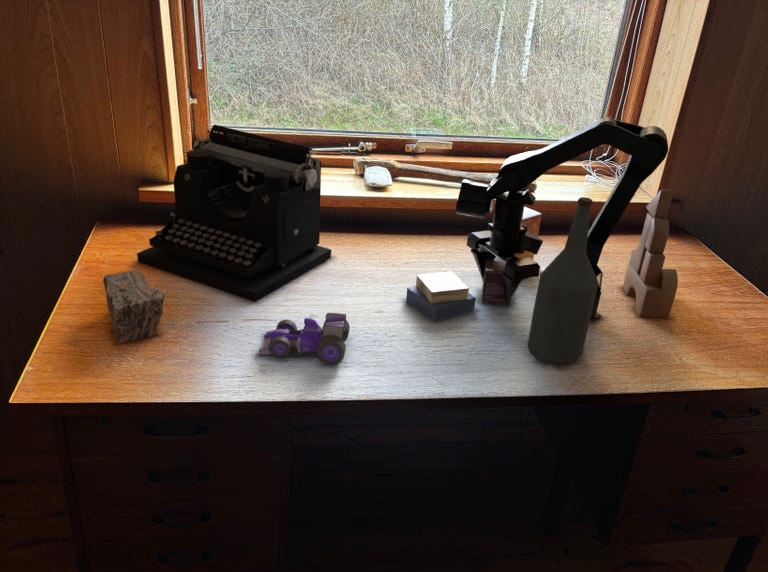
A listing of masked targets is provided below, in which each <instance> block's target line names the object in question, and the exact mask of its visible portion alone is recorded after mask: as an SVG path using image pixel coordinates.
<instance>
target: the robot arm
mask: <svg viewBox="0 0 768 572" xmlns="http://www.w3.org/2000/svg"><path fill="white" fill-rule="evenodd" d="M603 145H607V146H610V147H611V148H614V149H616V150H618V151H620V152H621V153H625V154H626V155H628V157H627V160H626V163H625V167H624V170H623V172H622V173H621V174H620V176H619V178H618V180H617V182H616V184H615V185H614V186H613V189H612V191H611V192H610V194H609V196H608V197H607V198H606V201H605V202H604V204H603V205H602V207H601V209H600V211H599V212H598V214H597V215H596V218H595V219H594V221H593V223H592V225H591V226H590V227H589V229H588V238H587V248H586V253H587V256H588V258H589V261H590V263H591V266H592V268H593V271H594V273H595V276H596V278H597V281H598V283H599V284H598V288H597V293H596V297H595V301H594V306H593V310H592V314H591V319H590V321H594V320H599V319H602V315H601V314H600V313H599V312H598V308H599V305H600V299H601V296H602V283H603V277H604V273H603V271H602V269H601V268H600V267H599V266H598V264H599V261H600V258H601V254H602V252H603V249H604V247H605V245H606V243H607V241H608V239H609V238H610V236H611V235H612V233H613V231H614V229H615V228H616V227H617V224H618V223H619V221H620V220H621V218H622V217H623V214H624V213H625V211H626V210H627V208H628V206H629V205H630V203H631V201H632V200H633V198H634V196H635V195H636V192H637V191H638V190H639V189H640V187H641V185H642V184H643V183H644V182H645V181H646V180H647V179H648V178H649V177H651V175H652V174H653V173H654V172H655V171H656V170H657V169H658V168H659V166H660V165H661V164H662V163H663V162H664V161H665V159H666V158H667V156H668V154H669V142H668V137H667V134H666V132H665V130H664V129H662V128H661V127H659V126H656V125H648V126H646V127H644V126H642V125H639V124H635V123H631V122H626V121H621V120H618V119H614V118H613V117H610V116H604V117H602V118H599V120H598V121H596V122H595V123H592V124H590V125H588V126H586V127H584V128H582V129H580V130H578V131H576V132H573V133H572V134H570V135H567V136H566V137H564V138H562V139H559V140H557V141H555V142H553V143H551V144H549V145H546V146H545V147H543V148H539V149H536V150H530V151H529V150H528V151H525V152H521V153H518V154H514V155H511V156H509V157H508V158H506V159H505V161H504V162H503V163H502V166H501V167H500V169H499V171H498V172H497V173H498V174H497V176H495V177H494V178H492V180H491V181H490V183H483V182H476V181H473V180H470V179H466V178H465V179H463V180H462V181H461V184H460V189H459V192H458V197H457V199H456V203H455V213H456V214H457V215H461V216H468V217H474V218H481V219H485V218H486V217H487V215H491V213H492V211H493V208H494V211H493V218H492V222H488V224H487V229H488V230H481V231H474V232H471V233H470V234H468V236H467V238H466V239H467V240H466V246H467V247H469V248H470V253H472V256H473V258H474V261H475V263H476V266H477V269H478V272H479V275H480V277H481V280H482V281H483V279H484V272H485V264H486V260H492V261H494V259H495V258H496V256H497V257H498V258H501V259H502V260H504V261H505V262H506V264H505V268H504V269H505V272H503V273H502V280H503V289H504V297H505V300H506V301H509V300H511V301H512V298H513V296H514V295H515V293H516V291H517V290H518V288H519V286H520V285H521V284H522V282H523V281H524V280H528V279H532V278H538V277H540V273H541V266H540V264H539V263H538V262H537V261H535V260H534V259H533V260H532V259H531V258H529V257H528V256H527V257H521V258H517V257H516V256H515V255H516V254H517V253H518V254H524V250H525V251H528V252H531V253H533V254H534V256H537V255H538V253H539V251H540V249H541V247H542V245H543V243H544V240H543V239H542V238H540V237H539V236H538V237H537V236H535V235H533V234H531V233H530V232H528V231H527V227H526V226H525V225H523V224H522V218H523V212H524V207H526V205H527V206H534V204H535V201H536V199H537V197H536V196H535V195H534V194H533V193H532V192H531V190H530V188H527V187H528V186H530V185H531V184H533V183H534V182H535V181H536V180H537V179H539V178H540V177H541V176H542V175H544V174H545V173H546V172H548V171H550V170H552V169H554V168H556V167H558V166H560V165H563V164H565V163H567V162H569V161H571V160H574V159H575V158H578V157H580V156H582V155H584V154H586V153H588V152H590V151H593V150H595V149H597V148H599V147H601V146H603ZM525 188H527V189H526V190H524V189H525ZM522 190H524V191H522ZM494 200H495V202H494ZM494 203H495V205H494ZM493 206H494V207H493Z"/></svg>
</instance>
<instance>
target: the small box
mask: <svg viewBox="0 0 768 572" xmlns="http://www.w3.org/2000/svg"><path fill="white" fill-rule="evenodd" d="M542 215H543V213H541V212H539V211H537V210H534V209H531V208H529V207H526V206H524V212H523V218H522V224H523V225H525V226H526V227H527V231H528V232H530V233H531V234H533V235H535V236H537V237H538V238H539V231H540V227H541V220H542ZM515 256H516V257H517V258H521V257H527V256H528V257H529V258H531V259H532V260H534V258H535V254H533V253H531V252H528V251H525V250H524V254H518V253H517V254H516V255H515ZM494 261H501V262H505V261H504V260H502V259H501V258H498V257H497V256H496V258H495V259H494Z"/></svg>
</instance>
